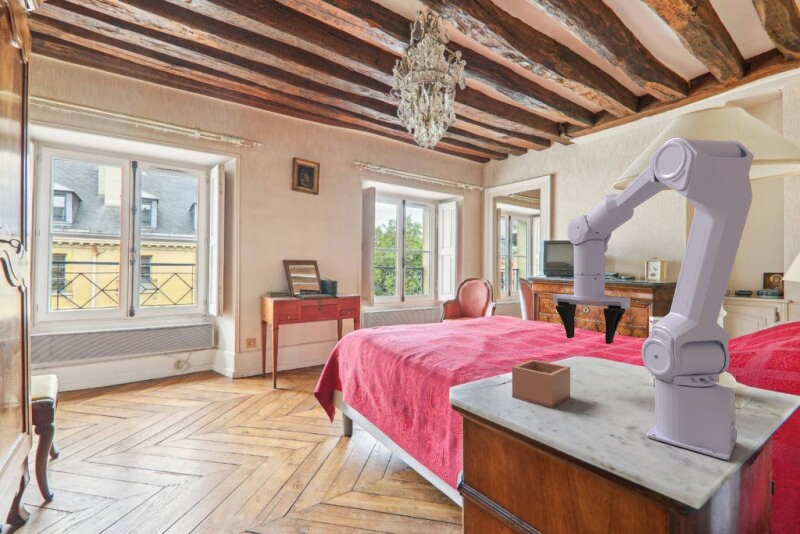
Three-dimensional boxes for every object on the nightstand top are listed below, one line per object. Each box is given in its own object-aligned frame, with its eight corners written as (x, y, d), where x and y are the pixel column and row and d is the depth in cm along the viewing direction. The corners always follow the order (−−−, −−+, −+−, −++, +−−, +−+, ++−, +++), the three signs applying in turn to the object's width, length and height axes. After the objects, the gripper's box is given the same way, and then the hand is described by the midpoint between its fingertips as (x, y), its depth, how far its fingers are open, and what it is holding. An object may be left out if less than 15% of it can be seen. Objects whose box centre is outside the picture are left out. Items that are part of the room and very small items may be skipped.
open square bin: (570, 397, 73) (570, 367, 73) (551, 408, 68) (551, 375, 68) (532, 387, 79) (532, 359, 79) (512, 397, 74) (512, 366, 74)
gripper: (634, 275, 75) (635, 342, 75) (562, 273, 85) (562, 333, 85) (623, 276, 70) (623, 348, 70) (548, 274, 81) (548, 337, 81)
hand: (589, 340), depth 77 cm, fingers open, 7 cm apart
